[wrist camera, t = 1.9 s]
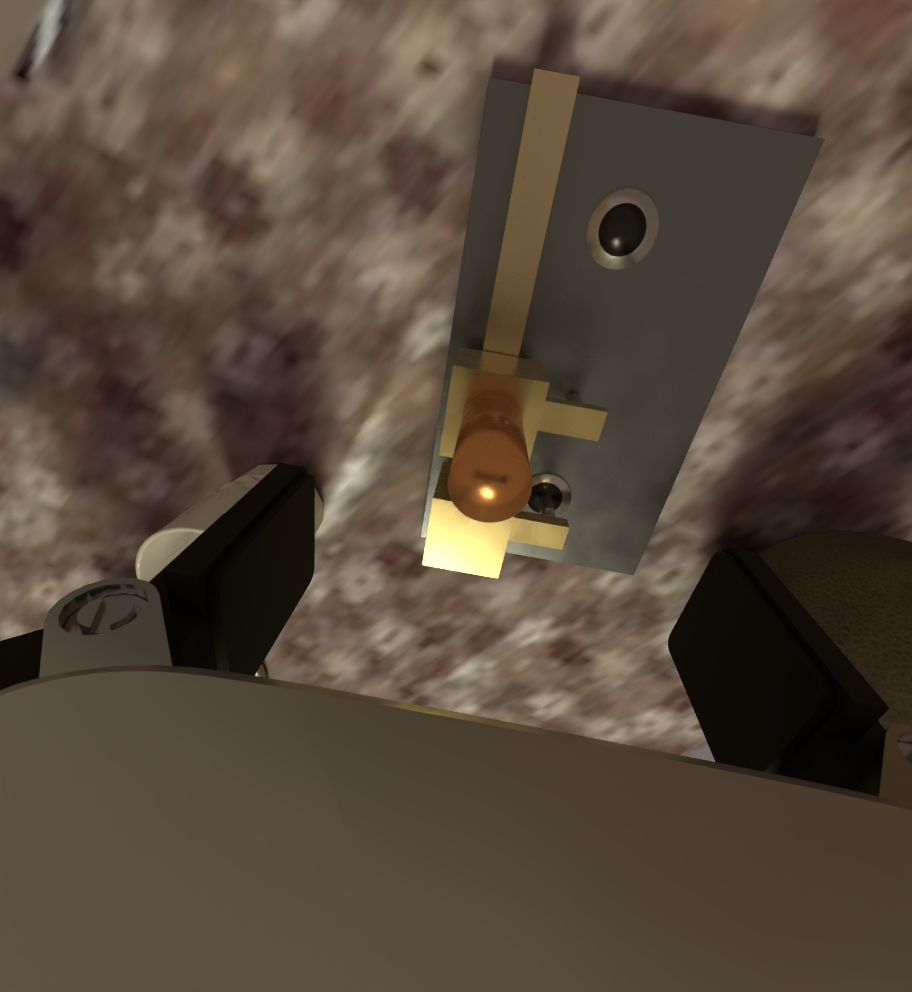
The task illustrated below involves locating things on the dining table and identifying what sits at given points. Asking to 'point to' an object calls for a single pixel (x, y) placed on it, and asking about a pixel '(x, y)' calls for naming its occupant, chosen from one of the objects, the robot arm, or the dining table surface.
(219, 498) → the white cup
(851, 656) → the dimpled olive sphere
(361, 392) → the dining table surface
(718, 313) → the grey sliding latch board
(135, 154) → the dining table surface
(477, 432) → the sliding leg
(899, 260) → the dining table surface
